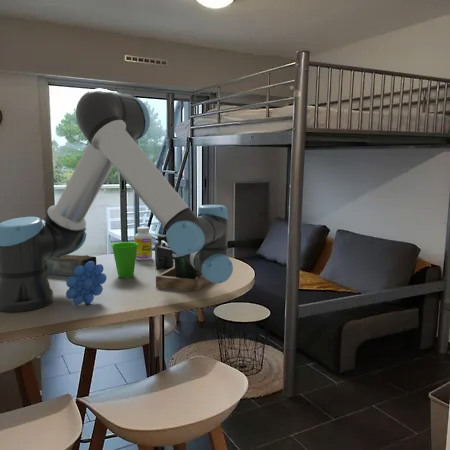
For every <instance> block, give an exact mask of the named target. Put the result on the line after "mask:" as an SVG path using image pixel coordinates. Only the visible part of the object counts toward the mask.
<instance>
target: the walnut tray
mask: <svg viewBox="0 0 450 450" xmlns="http://www.w3.org/2000/svg"><path fill="white" fill-rule="evenodd" d="M209 282H210V281H209V280H207V279H205V278H204V277H203V276H202V275H201V274H200V273H199V272H198V271H197V275H196V279H187V278H177V277H176V275H175V265H174V267H172V268H170V269H166V270H165V271H163V272H161V273H159V274H157V275H155V287H156V288H161V289H168V290H169V289H170V290H178V291H179V290H180V291H187V292H195V291H196V292H195V293H197V292H198V291H201V290H202V289H203V288H204V287H205V285H206V286H207V285H209V284H210V283H211V282H210V283H209Z"/></svg>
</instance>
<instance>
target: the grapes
mask: <svg viewBox="0 0 450 450" xmlns="http://www.w3.org/2000/svg"><path fill="white" fill-rule="evenodd" d="M103 272H104V266H103V264H102V263H101V264H97V263H96V266H95V263H94V262H93V261H88V262H87V263H86V264H85V266H84V267H83V266H77V267H76V268H75V269H74V272H73V273H74V276H68V278H66V282H65V284H66V286H67V287H68V289H67V290H66V291H65V292H66V293H65V296H66V299H68V300H70V299H71V300H72V303H73V305H75V306H79V305H82V303H83V304H85V305H88V304H91V303H92V302H93V301H94V298H95V297H96V296H99V295H101V294H102V292H103V290H104V289H103V284H105V283H106V281H107V275H106V274H105V273H103Z"/></svg>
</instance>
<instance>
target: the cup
mask: <svg viewBox="0 0 450 450" xmlns="http://www.w3.org/2000/svg"><path fill="white" fill-rule="evenodd" d="M138 245H139V244H138V243H135V241H134V242H133V241H122V242H121V241H120V242H115V243H112V244H111V245H110V246H111V247H112V252H113V256H114V262H115V267H116V272H117V276H118V277H119V278H123V279H125V278H127V279H129V278H132V277H134V275H135V268H136V267H135V266H136V261H137V259H136V253H137V246H138Z"/></svg>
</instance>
